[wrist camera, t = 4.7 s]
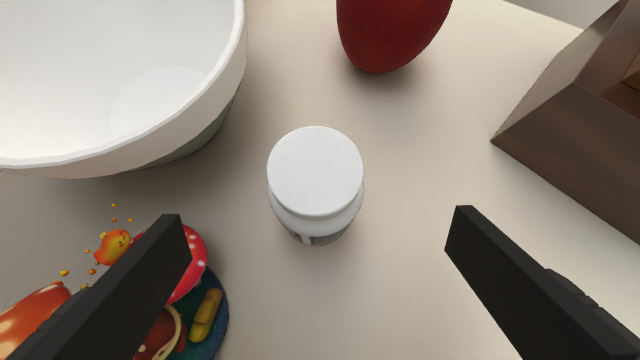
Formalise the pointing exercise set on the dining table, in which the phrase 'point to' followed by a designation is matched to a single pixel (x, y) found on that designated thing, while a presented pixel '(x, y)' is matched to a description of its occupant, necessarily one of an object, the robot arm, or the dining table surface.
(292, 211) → the pill bottle
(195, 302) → the figurine
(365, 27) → the apple
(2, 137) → the bowl
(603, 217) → the socket stand
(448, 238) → the robot arm
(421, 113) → the dining table surface
